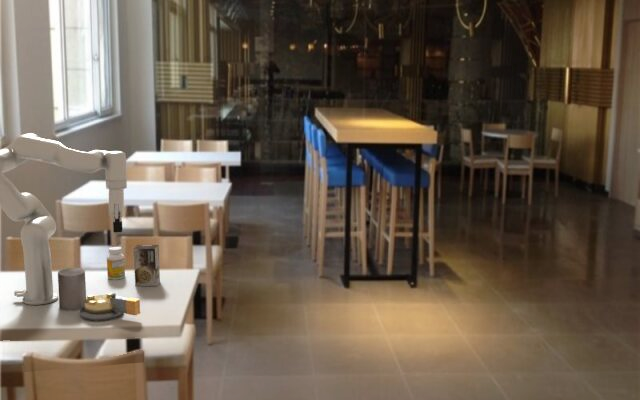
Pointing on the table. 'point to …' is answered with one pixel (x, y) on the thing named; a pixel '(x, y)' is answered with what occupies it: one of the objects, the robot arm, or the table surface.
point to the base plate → (99, 316)
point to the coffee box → (146, 265)
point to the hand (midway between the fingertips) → (117, 231)
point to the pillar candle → (71, 288)
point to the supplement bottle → (115, 263)
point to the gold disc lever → (111, 304)
